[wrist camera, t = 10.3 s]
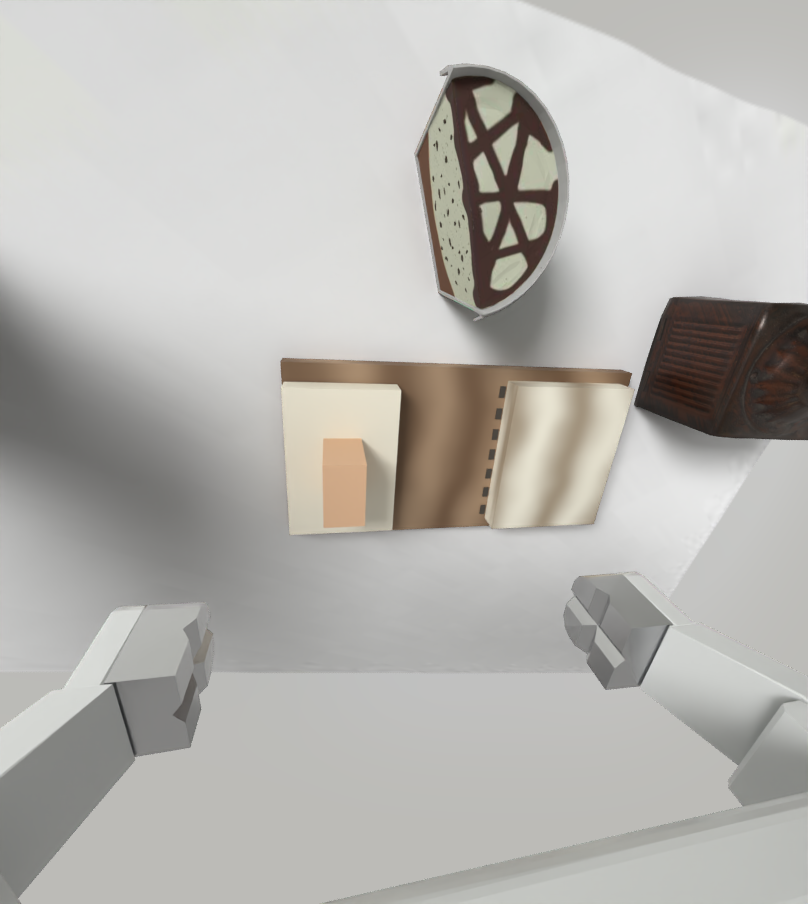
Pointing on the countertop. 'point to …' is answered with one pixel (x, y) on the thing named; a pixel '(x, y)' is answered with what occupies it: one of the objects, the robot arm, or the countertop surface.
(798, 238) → the countertop surface
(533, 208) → the food container
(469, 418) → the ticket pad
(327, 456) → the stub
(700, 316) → the manual coffee grinder
